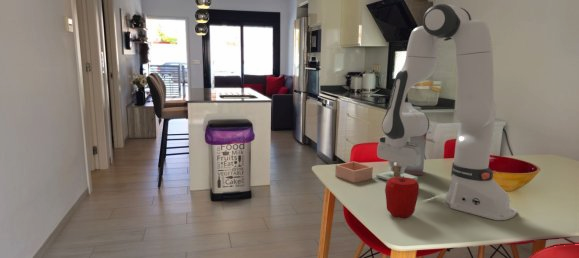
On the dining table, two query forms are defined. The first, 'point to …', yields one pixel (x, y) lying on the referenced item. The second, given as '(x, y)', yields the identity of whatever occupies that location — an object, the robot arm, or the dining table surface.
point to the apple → (401, 196)
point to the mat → (380, 179)
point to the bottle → (421, 143)
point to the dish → (354, 171)
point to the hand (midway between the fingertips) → (397, 172)
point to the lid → (395, 174)
